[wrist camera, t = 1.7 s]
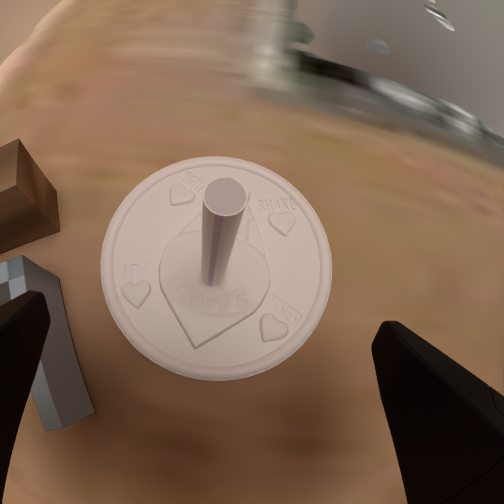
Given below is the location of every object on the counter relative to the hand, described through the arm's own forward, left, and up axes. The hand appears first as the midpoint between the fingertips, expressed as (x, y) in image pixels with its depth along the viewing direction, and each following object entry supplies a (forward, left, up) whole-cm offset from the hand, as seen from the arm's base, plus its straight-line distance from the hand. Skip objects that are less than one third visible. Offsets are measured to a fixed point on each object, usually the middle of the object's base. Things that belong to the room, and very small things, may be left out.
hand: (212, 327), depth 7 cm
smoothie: (+2, 0, -10) cm, 10 cm away
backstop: (+5, +15, -10) cm, 19 cm away
